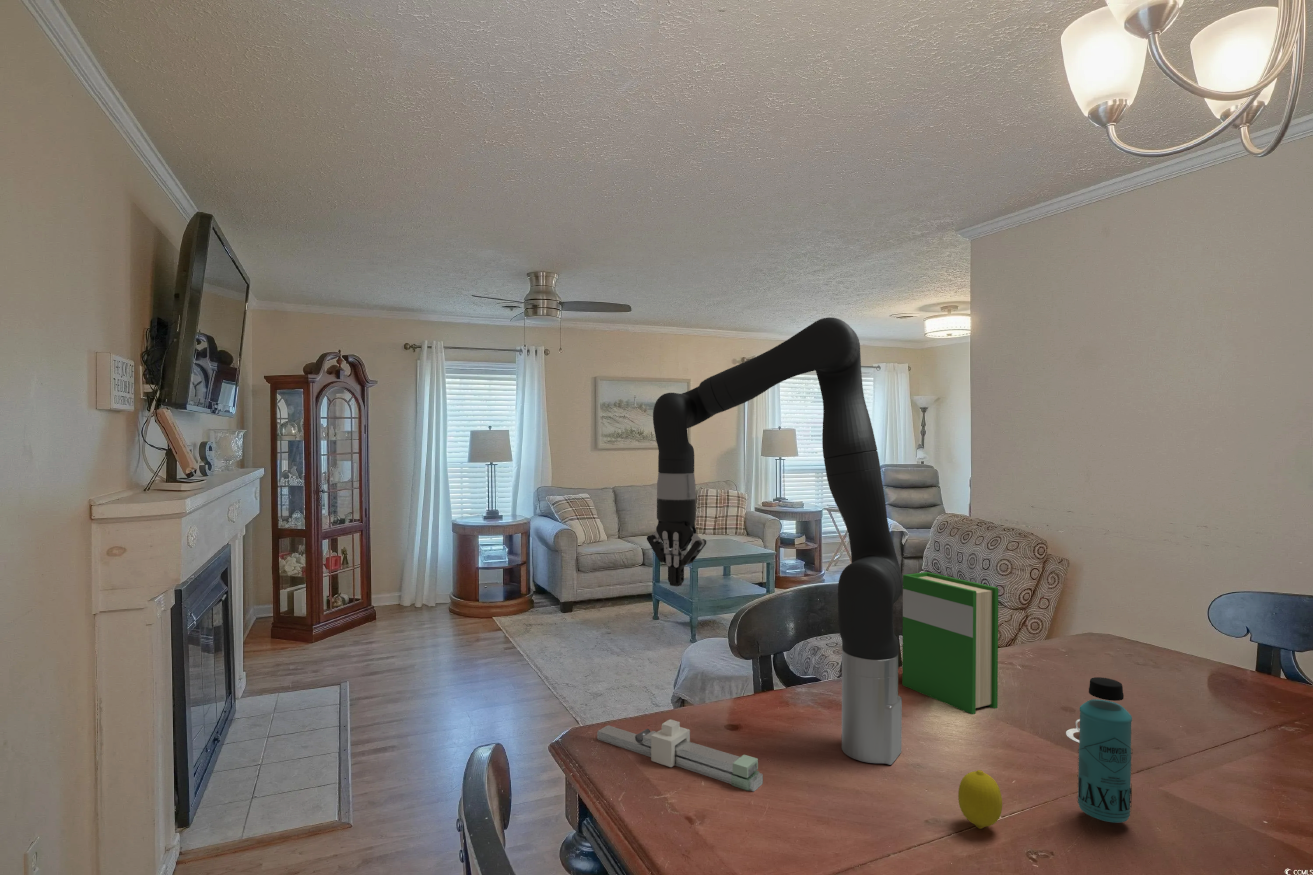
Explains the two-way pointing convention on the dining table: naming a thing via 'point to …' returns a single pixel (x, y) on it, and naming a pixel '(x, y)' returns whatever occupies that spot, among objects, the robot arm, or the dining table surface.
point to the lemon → (980, 799)
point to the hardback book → (950, 640)
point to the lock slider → (667, 742)
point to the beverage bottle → (1105, 753)
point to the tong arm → (713, 757)
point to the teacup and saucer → (1072, 731)
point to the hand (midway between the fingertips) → (675, 585)
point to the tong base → (678, 758)
